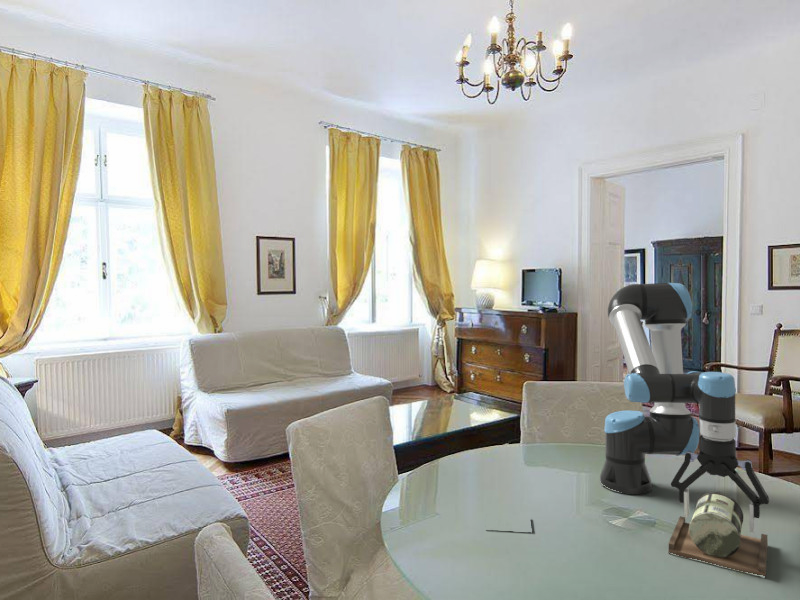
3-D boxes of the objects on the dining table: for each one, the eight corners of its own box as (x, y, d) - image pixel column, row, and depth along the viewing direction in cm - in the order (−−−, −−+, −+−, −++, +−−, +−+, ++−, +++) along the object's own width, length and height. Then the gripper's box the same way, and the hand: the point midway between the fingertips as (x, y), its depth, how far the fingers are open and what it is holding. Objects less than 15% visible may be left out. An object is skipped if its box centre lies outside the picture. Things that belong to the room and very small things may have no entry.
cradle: (765, 578, 113) (765, 566, 113) (668, 553, 124) (668, 543, 124) (767, 545, 126) (767, 534, 126) (680, 525, 138) (680, 516, 138)
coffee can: (718, 567, 120) (723, 541, 131) (751, 540, 115) (753, 515, 127) (678, 530, 124) (686, 508, 135) (708, 503, 120) (714, 483, 131)
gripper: (657, 433, 130) (659, 516, 131) (781, 450, 115) (781, 543, 116) (663, 425, 136) (664, 504, 137) (781, 440, 121) (781, 529, 122)
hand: (718, 522), depth 126 cm, fingers open, 13 cm apart
